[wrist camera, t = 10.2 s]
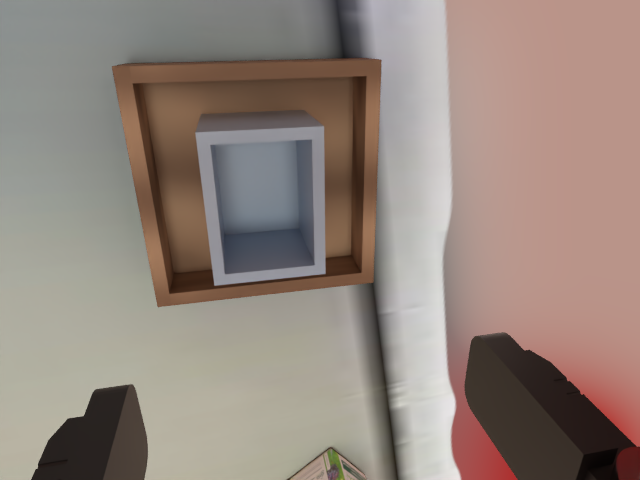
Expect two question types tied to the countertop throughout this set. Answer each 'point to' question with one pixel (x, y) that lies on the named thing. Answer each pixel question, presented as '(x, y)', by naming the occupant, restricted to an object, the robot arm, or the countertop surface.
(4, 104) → the countertop surface
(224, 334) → the countertop surface
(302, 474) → the syrup box
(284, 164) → the grey open bin
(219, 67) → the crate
